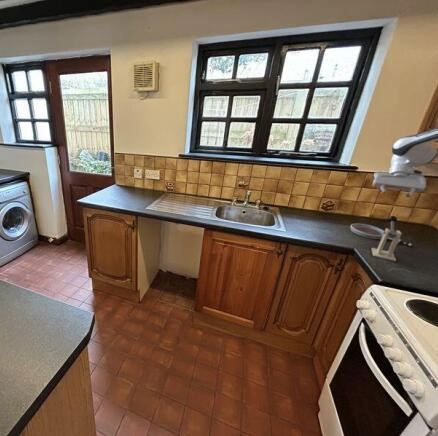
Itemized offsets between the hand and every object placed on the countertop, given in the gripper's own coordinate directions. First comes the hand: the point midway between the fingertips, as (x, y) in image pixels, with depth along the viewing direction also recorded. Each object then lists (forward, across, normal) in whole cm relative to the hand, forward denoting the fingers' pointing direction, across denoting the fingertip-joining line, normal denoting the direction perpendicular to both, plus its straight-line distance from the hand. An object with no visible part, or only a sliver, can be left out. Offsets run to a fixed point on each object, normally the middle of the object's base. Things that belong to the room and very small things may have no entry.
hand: (395, 194), depth 128 cm
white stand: (+35, 0, +3) cm, 35 cm away
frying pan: (+15, +1, +23) cm, 27 cm away
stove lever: (+22, 0, -2) cm, 22 cm away
